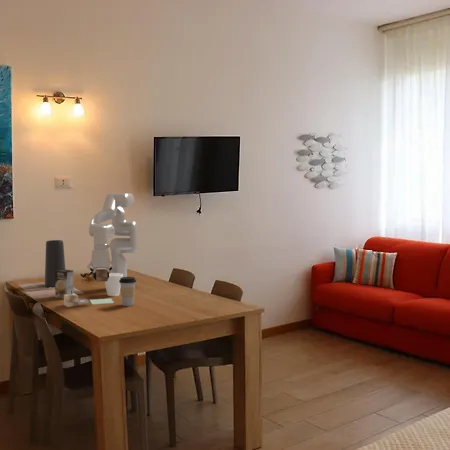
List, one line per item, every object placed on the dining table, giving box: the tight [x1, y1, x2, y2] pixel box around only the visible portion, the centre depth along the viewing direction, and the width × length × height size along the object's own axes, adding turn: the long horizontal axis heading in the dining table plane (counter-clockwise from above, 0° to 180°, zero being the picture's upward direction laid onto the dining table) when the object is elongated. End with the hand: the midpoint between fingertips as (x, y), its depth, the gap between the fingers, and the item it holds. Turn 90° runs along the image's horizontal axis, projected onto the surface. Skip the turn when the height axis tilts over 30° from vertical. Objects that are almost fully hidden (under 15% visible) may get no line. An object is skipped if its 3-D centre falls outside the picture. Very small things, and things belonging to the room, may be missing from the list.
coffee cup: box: [119, 276, 137, 307], centre depth 334 cm, size 9×9×15 cm
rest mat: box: [89, 298, 115, 306], centre depth 341 cm, size 12×12×1 cm
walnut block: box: [95, 268, 107, 283], centre depth 340 cm, size 6×6×6 cm
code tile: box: [78, 298, 90, 304], centre depth 343 cm, size 10×10×1 cm
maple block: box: [63, 293, 79, 308], centre depth 333 cm, size 6×6×6 cm
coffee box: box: [54, 268, 75, 300], centre depth 353 cm, size 9×6×16 cm
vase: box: [44, 239, 66, 288], centre depth 390 cm, size 14×14×29 cm
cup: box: [104, 272, 123, 297], centre depth 360 cm, size 12×12×12 cm
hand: (101, 279), depth 340 cm, fingers closed on walnut block, 6 cm apart
